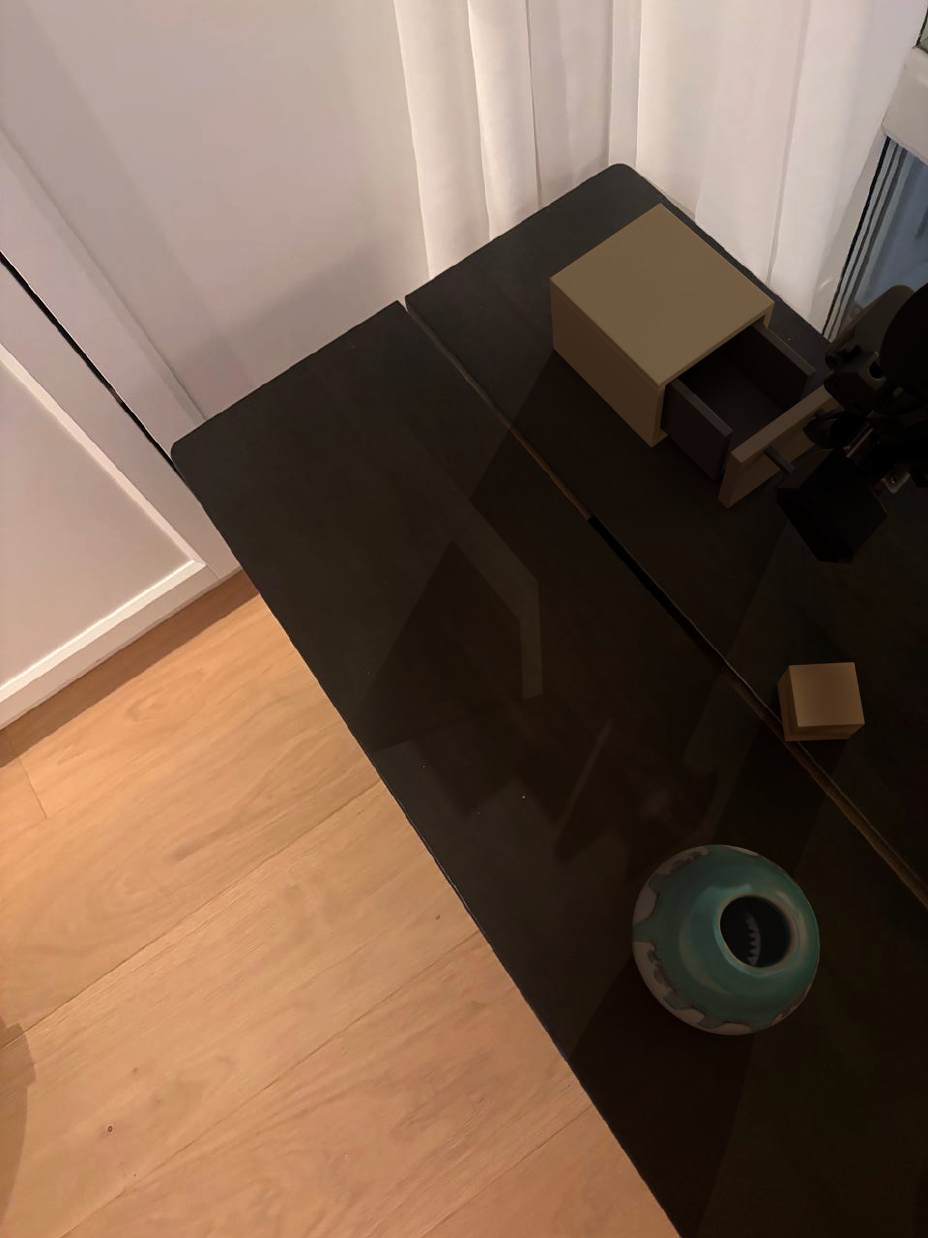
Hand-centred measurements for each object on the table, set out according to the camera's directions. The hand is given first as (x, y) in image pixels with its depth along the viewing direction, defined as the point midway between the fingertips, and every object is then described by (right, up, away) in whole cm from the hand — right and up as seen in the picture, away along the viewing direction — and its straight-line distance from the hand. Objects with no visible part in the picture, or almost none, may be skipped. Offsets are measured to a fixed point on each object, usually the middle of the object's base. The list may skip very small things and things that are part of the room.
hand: (808, 430), depth 63 cm
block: (+2, -20, +5) cm, 21 cm away
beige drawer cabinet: (-7, +10, +17) cm, 21 cm away
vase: (-7, -36, 0) cm, 36 cm away
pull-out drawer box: (-1, +2, +12) cm, 13 cm away
